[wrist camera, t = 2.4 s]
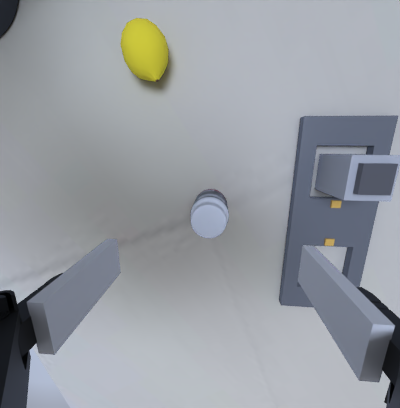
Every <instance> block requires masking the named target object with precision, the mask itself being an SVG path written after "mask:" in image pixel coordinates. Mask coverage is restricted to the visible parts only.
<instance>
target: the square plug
mask: <svg viewBox="0 0 400 408" xmlns="http://www.w3.org/2000/svg"><path fill="white" fill-rule="evenodd" d="M399 166H400V155H365V154H320V156H319V163H318V170H317V177H316V184H315V189H316V190H319V191H321V192H324V193H326V194H329V195H331V196H334V197H336V198H339V199H342V200H351V201H391V199H392V195H393V191H394V186H395V182H396V178H397V174H398V170H399Z"/></svg>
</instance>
